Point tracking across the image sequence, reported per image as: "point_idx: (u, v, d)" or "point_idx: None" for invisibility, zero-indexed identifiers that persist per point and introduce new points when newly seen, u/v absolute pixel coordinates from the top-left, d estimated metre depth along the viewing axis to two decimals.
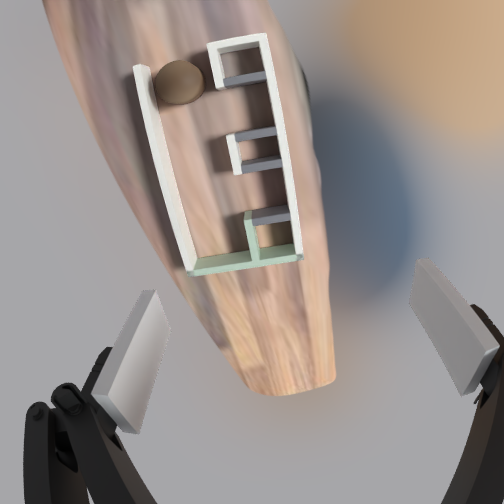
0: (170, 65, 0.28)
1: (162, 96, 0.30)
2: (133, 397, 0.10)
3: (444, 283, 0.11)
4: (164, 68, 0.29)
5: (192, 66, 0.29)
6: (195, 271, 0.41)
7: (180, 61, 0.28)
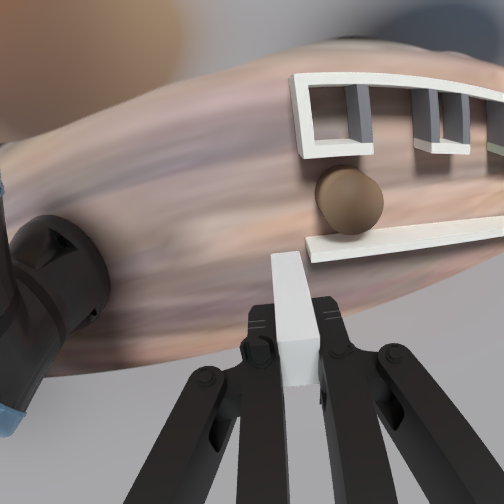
0: (328, 212, 0.24)
1: (368, 226, 0.25)
2: None
3: (297, 274, 0.13)
4: (330, 220, 0.24)
5: (338, 182, 0.23)
6: None
7: (326, 198, 0.24)
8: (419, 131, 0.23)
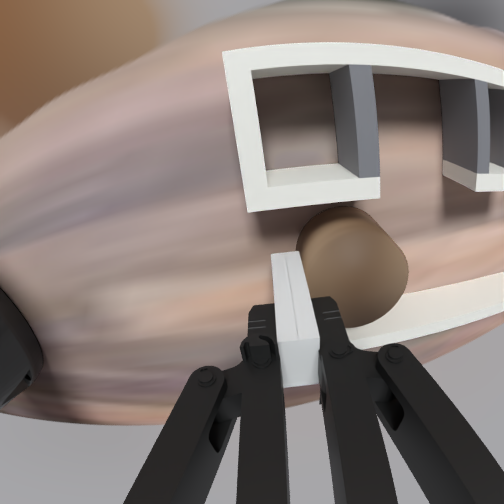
0: None
1: (379, 314, 0.15)
2: None
3: (297, 274, 0.13)
4: None
5: (332, 250, 0.13)
6: None
7: (311, 277, 0.14)
8: (454, 150, 0.13)
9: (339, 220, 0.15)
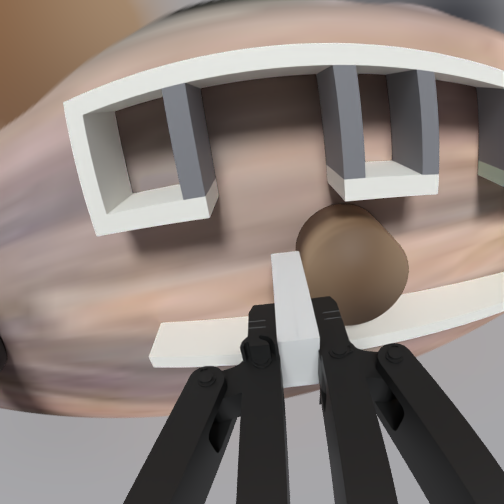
0: (314, 297, 0.14)
1: (381, 310, 0.15)
2: None
3: (297, 274, 0.13)
4: None
5: (330, 249, 0.13)
6: None
7: (309, 276, 0.14)
8: (330, 154, 0.14)
9: (336, 218, 0.15)
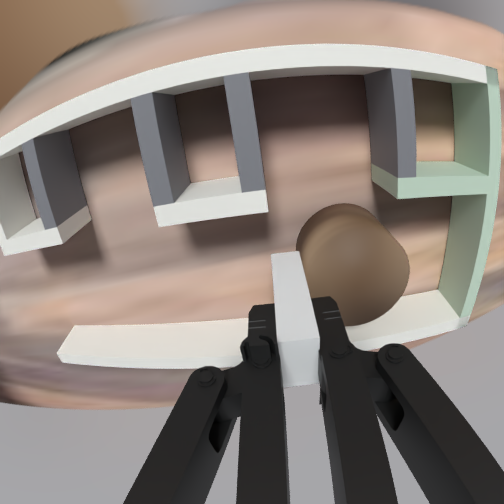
0: None
1: (383, 310, 0.14)
2: None
3: (297, 274, 0.13)
4: None
5: (329, 249, 0.13)
6: (463, 313, 0.15)
7: (310, 278, 0.14)
8: None
9: (336, 218, 0.14)
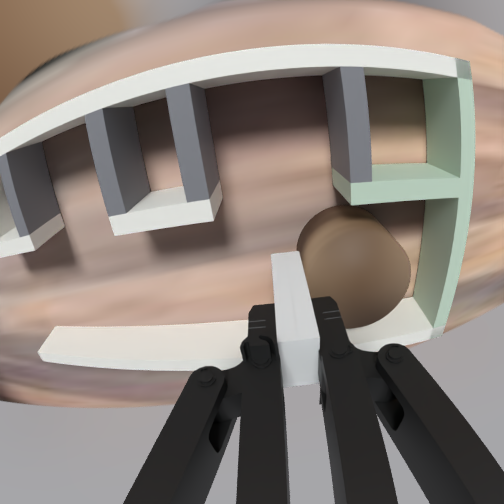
0: None
1: (383, 313, 0.14)
2: None
3: (297, 274, 0.13)
4: None
5: (330, 251, 0.13)
6: (437, 323, 0.15)
7: (310, 279, 0.13)
8: None
9: (337, 220, 0.14)
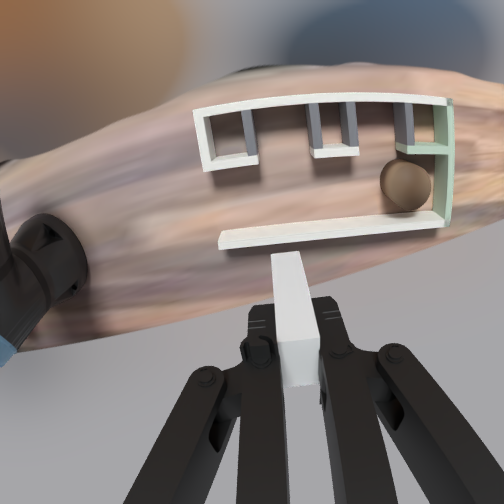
0: (395, 193, 0.30)
1: (421, 203, 0.31)
2: None
3: (297, 274, 0.13)
4: (396, 199, 0.31)
5: (401, 171, 0.29)
6: (446, 217, 0.32)
7: (393, 182, 0.30)
8: (310, 140, 0.31)
9: (399, 162, 0.31)
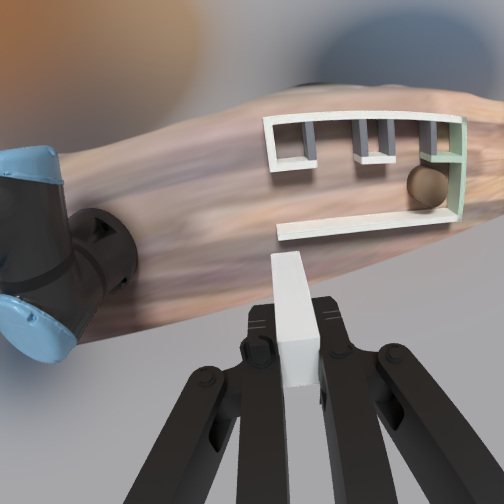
0: (421, 193, 0.36)
1: (440, 202, 0.36)
2: None
3: (297, 274, 0.13)
4: (422, 199, 0.36)
5: (426, 176, 0.35)
6: (459, 213, 0.37)
7: (420, 185, 0.36)
8: (355, 148, 0.36)
9: (424, 168, 0.36)
